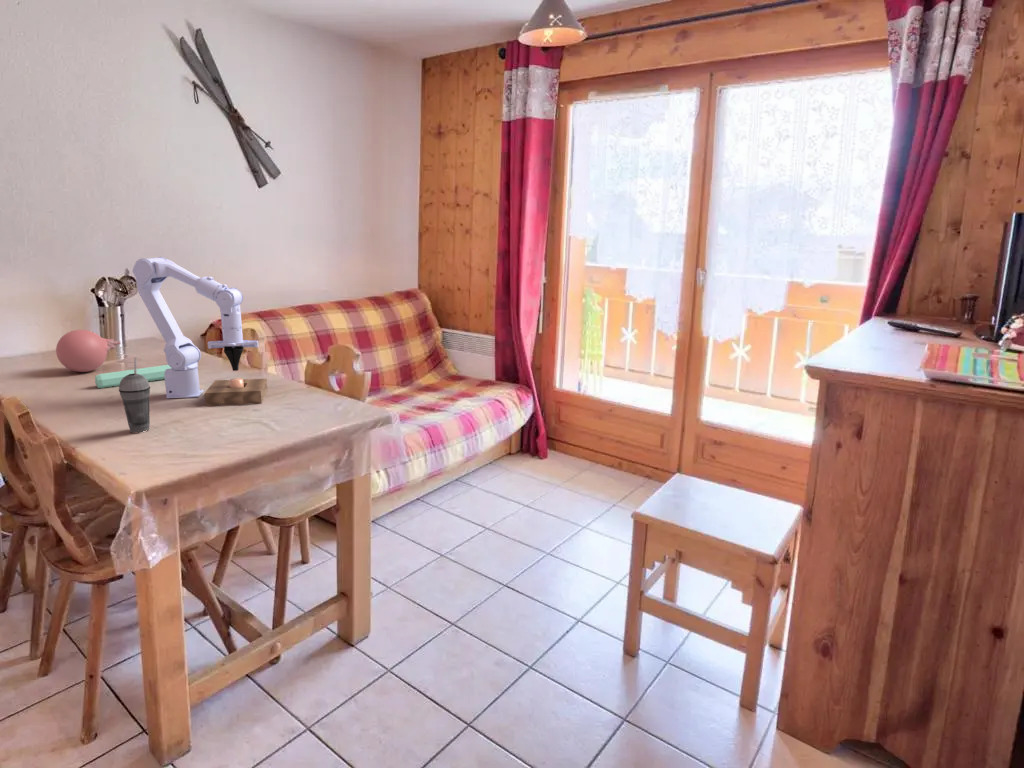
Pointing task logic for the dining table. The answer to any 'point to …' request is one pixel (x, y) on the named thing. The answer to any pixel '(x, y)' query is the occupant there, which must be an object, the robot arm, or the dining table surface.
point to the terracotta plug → (236, 383)
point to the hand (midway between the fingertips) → (235, 370)
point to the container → (116, 377)
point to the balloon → (83, 350)
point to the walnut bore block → (236, 392)
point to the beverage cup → (136, 400)
